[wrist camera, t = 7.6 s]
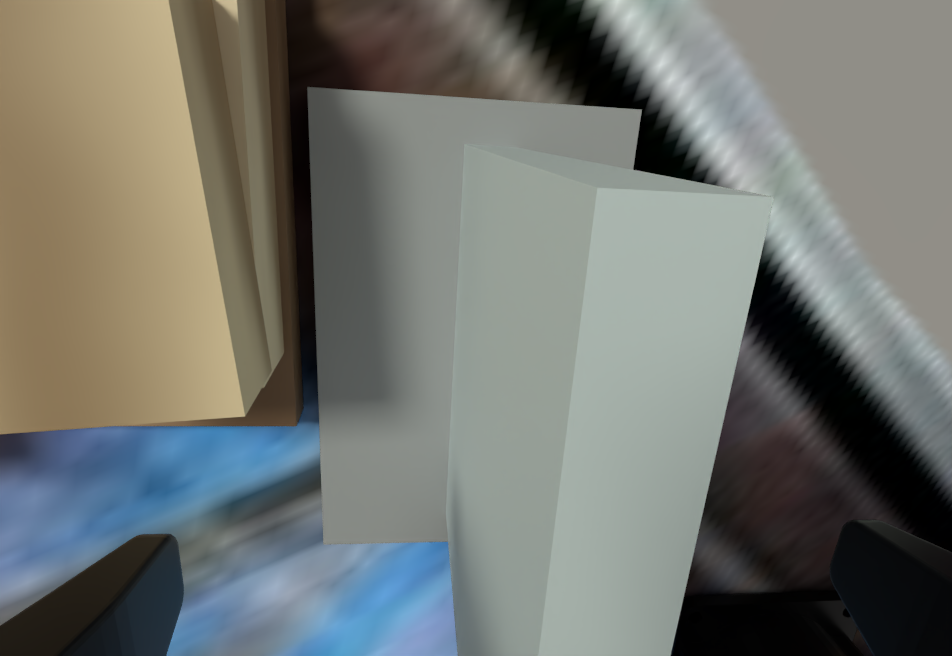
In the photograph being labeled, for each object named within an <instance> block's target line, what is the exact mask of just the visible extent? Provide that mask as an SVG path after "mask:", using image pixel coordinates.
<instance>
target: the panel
mask: <svg viewBox="0 0 952 656" xmlns="http://www.w3.org/2000/svg"><path fill="white" fill-rule="evenodd" d="M773 199H774V197H771V196H766V195H761V194H756V193H750V192H745V191H740V190H735V189H730V188H724V187H719V186H714V185H709V184H704V183H699V182H693V181H688V180H683V179H678V178H673V177H668V176H662V175H657V174H652V173H647V172H642V171H636V170H631V169H626V168H621V167H616V166H611V165H605V164H600V163H595V162H590V161H585V160H580V159H574V158H569V157H564V156H559V155H554V154H548V153H543V152H538V151H533V150H528V149H523V148H517V147H503V146H487V145H470V144H464V163H463V183H462V203H461V222H460V242H459V262H458V281H457V301H456V321H455V340H454V360H453V380H452V399H451V419H450V439H449V458H448V478H447V498H446V521H447V533H448V545H449V557H450V569H451V581H452V593H453V604H454V616H455V628H456V640H457V652H458V656H671V651H672V647H673V642H674V638H675V634H676V629H677V625H678V620H679V616H680V611H681V607H682V603H683V598H684V594H685V589H686V585H687V580H688V576H689V572H690V567H691V563H692V558H693V554H694V549H695V545H696V541H697V536H698V532H699V527H700V523H701V518H702V514H703V510H704V505H705V501H706V496H707V492H708V487H709V483H710V479H711V474H712V470H713V465H714V461H715V456H716V452H717V448H718V443H719V439H720V434H721V430H722V425H723V421H724V417H725V412H726V408H727V403H728V399H729V394H730V390H731V386H732V381H733V377H734V372H735V368H736V363H737V359H738V355H739V350H740V346H741V341H742V337H743V332H744V328H745V324H746V319H747V315H748V310H749V306H750V301H751V297H752V292H753V288H754V284H755V279H756V275H757V270H758V266H759V261H760V257H761V253H762V248H763V244H764V239H765V235H766V230H767V226H768V222H769V217H770V213H771V208H772V204H773Z"/></svg>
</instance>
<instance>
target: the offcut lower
mask: <svg viewBox="0 0 952 656" xmlns="http://www.w3.org/2000/svg"><path fill="white" fill-rule="evenodd" d="M212 3H213V9H214V15H215V21H216V27H217V34H218V40H219V46H220V52H221V58H222V65H223V71H224V77H225V83H226V89H227V95H228V102H229V108H230V114H231V120H232V126H233V133H234V139H235V145H236V151H237V157H238V163H239V170H240V176H241V182H242V188H243V194H244V201H245V207H246V213H247V219H248V225H249V231H250V238H251V244H252V250H253V256H254V262H255V268H256V275H257V281H258V287H259V293H260V299H261V306H262V312H263V318H264V324H265V330H266V336H267V343H268V349H269V355H270V361H271V367H272V371H271V373H270V375H269V376H268V378H267V380H266V382H265V383H264V385H263V387H262V388H264V387H265V385H266V383H267V382H268V380H269V378H270V376H271V375H272V373H273V371H274V369H275V368H276V366H277V364H278V363H279V361H280V359H281V357H282V356H283V354H284V340H283V322H282V304H281V286H280V268H279V250H278V232H277V214H276V196H275V178H274V160H273V142H272V124H271V106H270V88H269V69H268V51H267V33H266V15H265V0H212Z"/></svg>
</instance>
